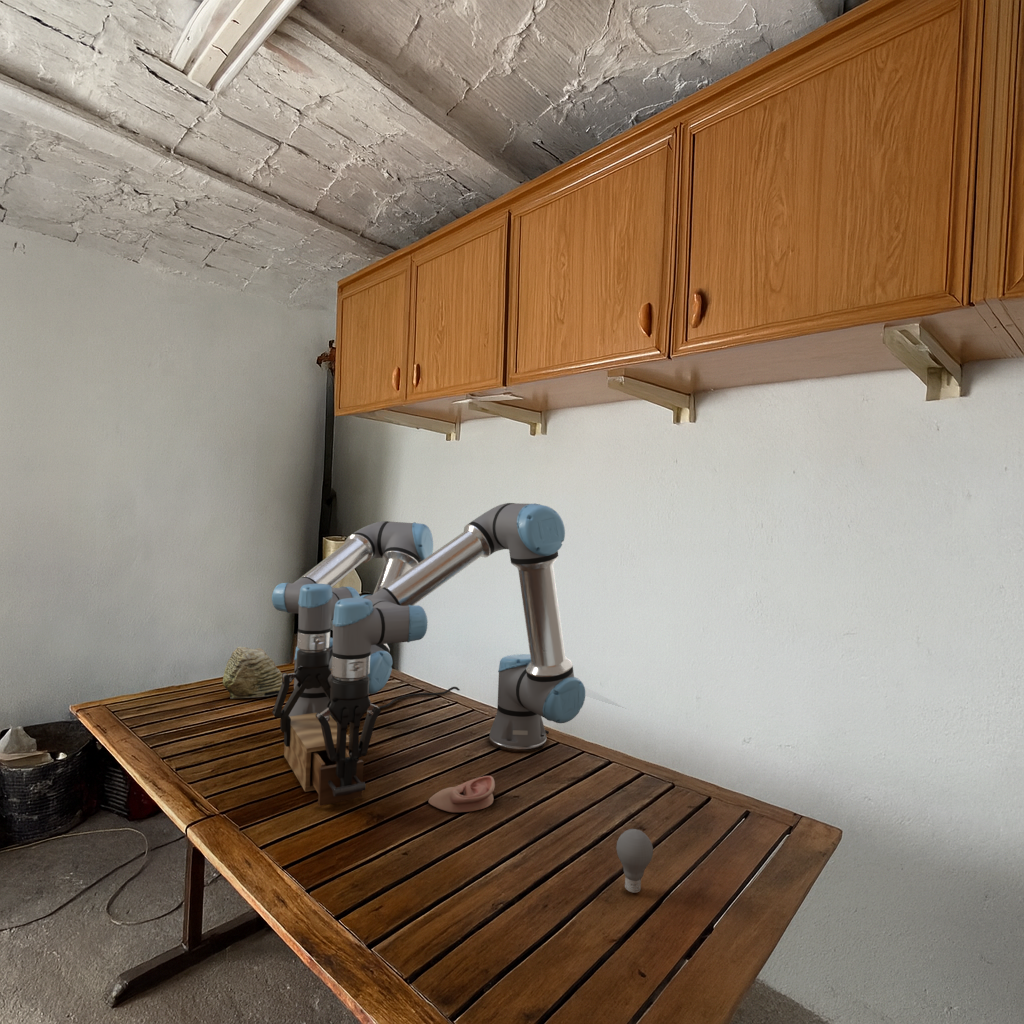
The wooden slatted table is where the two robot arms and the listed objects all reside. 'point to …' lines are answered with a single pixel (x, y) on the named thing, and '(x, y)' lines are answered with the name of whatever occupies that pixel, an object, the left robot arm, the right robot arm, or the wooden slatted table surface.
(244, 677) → the fossil
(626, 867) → the light bulb
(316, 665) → the left robot arm
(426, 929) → the wooden slatted table surface
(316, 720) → the cabinet
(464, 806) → the anatomical model
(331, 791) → the drawer
